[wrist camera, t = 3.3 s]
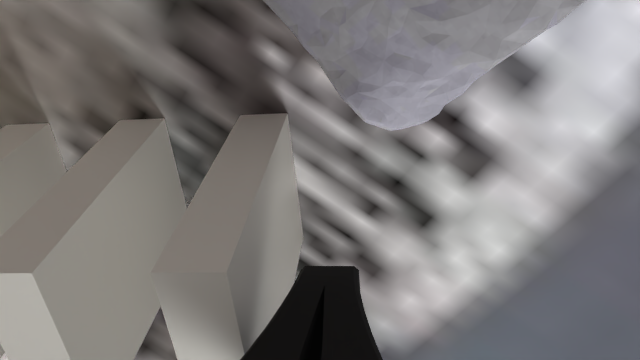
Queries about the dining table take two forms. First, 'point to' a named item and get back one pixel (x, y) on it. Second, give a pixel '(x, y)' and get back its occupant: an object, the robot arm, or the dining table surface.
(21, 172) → the domino
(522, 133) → the dining table surface
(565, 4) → the stone block
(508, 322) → the dining table surface
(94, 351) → the domino
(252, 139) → the domino
